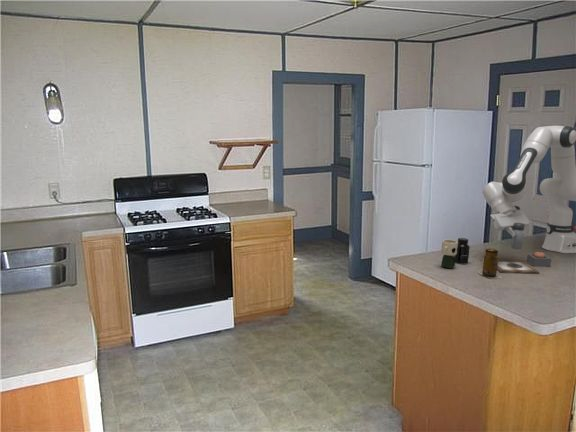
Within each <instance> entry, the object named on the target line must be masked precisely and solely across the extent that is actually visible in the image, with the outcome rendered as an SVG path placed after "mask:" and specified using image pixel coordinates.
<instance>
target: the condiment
mask: <svg viewBox="0 0 576 432" xmlns="http://www.w3.org/2000/svg"><path fill="white" fill-rule="evenodd" d="M498 255H499V251H498V249H496V248H486V249H485V251H484V254H483V264H482V271H481V272H478V275H481V276H483V277H485V278H487V279H503V278H504V277H503V276H501V275H499V274H498V273H497V272H498V271H497V265H498V261H499V256H498Z"/></svg>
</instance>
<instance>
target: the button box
mask: <svg viewBox="0 0 576 432" xmlns="http://www.w3.org/2000/svg"><path fill="white" fill-rule="evenodd" d="M525 263H527V264H529V265H530V266H532V267H544V268H546V267H549V268H550V267H551V266H552V258H551V257H549V256H548V255H546V254H544V258H536V257H534V253H527V254H526V261H525Z"/></svg>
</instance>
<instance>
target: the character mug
mask: <svg viewBox="0 0 576 432" xmlns="http://www.w3.org/2000/svg"><path fill="white" fill-rule="evenodd" d="M457 247H458V240H455V239H447V238H446V239H443V240H441V252H440V253H441V255H442V254H443V255H442V259H441V265H440V266H441V267H443V268H446V269H454V268H455V267H456V263H455V259H454V255H456V254H457Z"/></svg>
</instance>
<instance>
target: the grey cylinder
mask: <svg viewBox="0 0 576 432" xmlns="http://www.w3.org/2000/svg"><path fill="white" fill-rule="evenodd" d="M524 226H525V224H523V223H514V228H513V229H512V230H513V231H514V232H516V234H517V236H515V237H512V240H511V249H513V250H523V249H522V248H523V242H524V241H523V239H524V235H523V233H524V232H525V228H524Z"/></svg>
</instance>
